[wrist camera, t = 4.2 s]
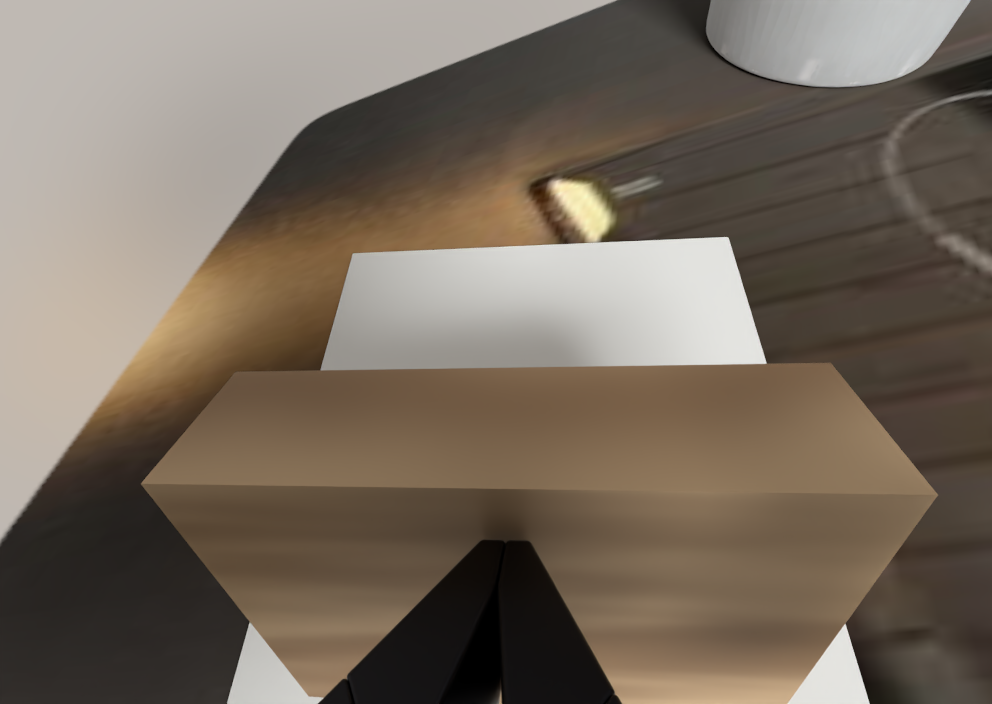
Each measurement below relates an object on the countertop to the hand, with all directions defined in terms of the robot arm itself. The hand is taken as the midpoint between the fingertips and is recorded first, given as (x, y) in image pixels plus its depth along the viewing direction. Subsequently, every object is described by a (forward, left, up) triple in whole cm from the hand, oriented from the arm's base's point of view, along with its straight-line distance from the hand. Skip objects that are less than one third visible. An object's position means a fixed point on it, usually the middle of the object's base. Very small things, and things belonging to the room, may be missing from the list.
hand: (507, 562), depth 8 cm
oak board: (-1, 0, -7) cm, 8 cm away
